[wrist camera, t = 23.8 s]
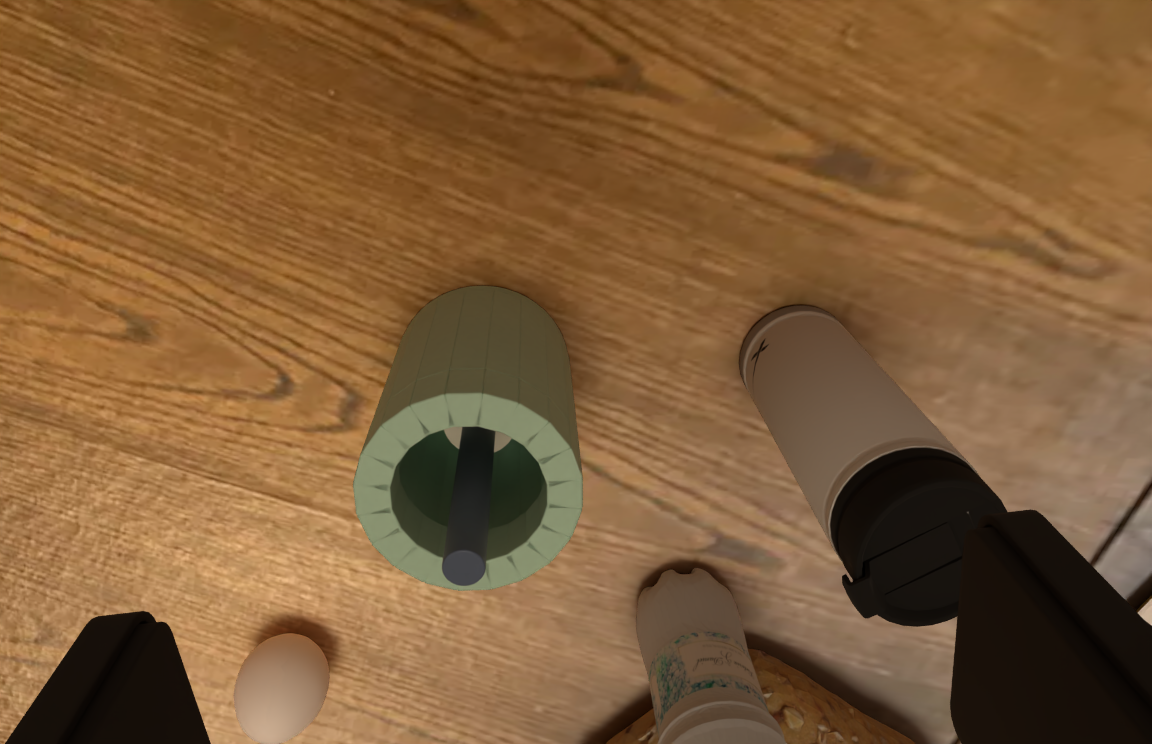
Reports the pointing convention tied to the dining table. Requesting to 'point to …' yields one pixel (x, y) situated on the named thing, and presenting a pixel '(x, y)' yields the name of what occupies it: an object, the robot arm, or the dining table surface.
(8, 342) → the dining table surface
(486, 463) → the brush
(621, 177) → the dining table surface
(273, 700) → the egg
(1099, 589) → the robot arm
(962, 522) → the travel mug
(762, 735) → the bottle
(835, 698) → the bread
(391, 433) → the cup
